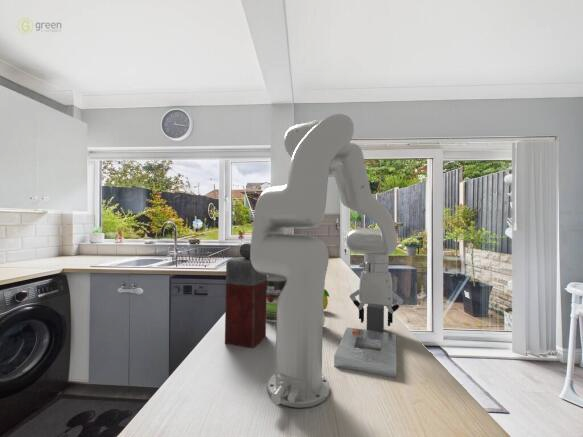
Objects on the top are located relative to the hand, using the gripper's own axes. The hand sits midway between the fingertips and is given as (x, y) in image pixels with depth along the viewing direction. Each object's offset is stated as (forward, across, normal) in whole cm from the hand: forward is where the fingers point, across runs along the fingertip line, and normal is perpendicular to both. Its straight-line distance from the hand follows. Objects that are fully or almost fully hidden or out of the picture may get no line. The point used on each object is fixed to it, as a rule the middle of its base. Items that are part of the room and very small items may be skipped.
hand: (375, 322), depth 91 cm
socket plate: (+3, -1, -17) cm, 17 cm away
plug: (+3, 0, +1) cm, 3 cm away
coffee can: (+3, -35, 0) cm, 35 cm away
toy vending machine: (+3, -35, -20) cm, 40 cm away
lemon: (+3, -21, +13) cm, 25 cm away
